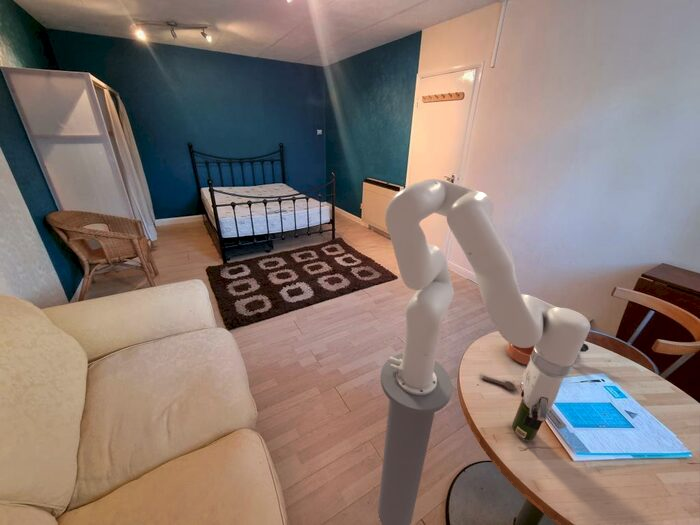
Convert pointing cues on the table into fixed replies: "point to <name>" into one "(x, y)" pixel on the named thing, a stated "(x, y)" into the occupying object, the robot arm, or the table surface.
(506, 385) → the spoon
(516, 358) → the bowl
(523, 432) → the beer can
